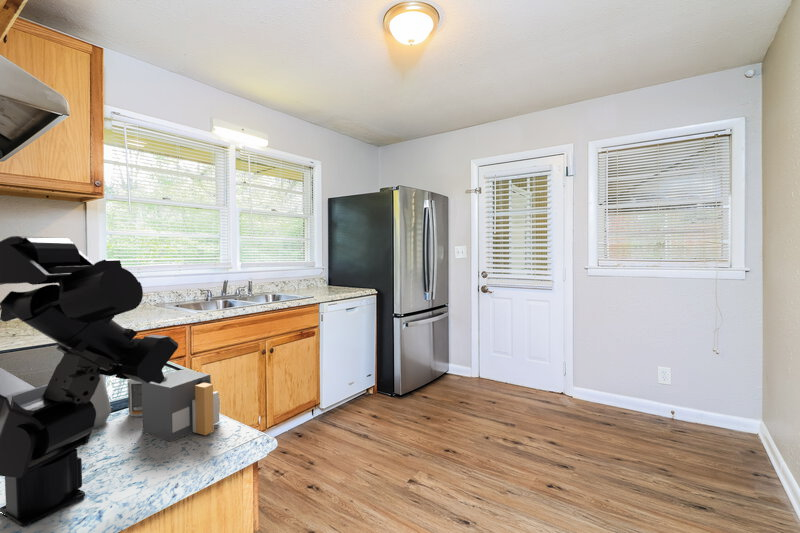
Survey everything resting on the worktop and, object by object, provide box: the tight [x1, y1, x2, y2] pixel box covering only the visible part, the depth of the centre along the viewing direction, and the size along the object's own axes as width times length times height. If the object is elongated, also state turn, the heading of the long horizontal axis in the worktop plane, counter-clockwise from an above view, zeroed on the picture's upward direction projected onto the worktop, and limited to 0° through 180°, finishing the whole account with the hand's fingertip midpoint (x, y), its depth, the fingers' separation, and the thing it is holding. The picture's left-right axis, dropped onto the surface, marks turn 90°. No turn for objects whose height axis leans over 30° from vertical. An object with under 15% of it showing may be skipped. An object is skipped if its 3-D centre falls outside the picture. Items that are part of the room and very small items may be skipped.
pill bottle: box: [127, 379, 142, 418], centre depth 79 cm, size 6×6×10 cm
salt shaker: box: [90, 368, 112, 430], centre depth 73 cm, size 6×6×13 cm
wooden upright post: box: [192, 383, 220, 436], centre depth 71 cm, size 5×3×9 cm, turn 155°
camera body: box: [141, 369, 212, 442], centre depth 72 cm, size 8×9×10 cm
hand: (161, 380), depth 61 cm, fingers closed
